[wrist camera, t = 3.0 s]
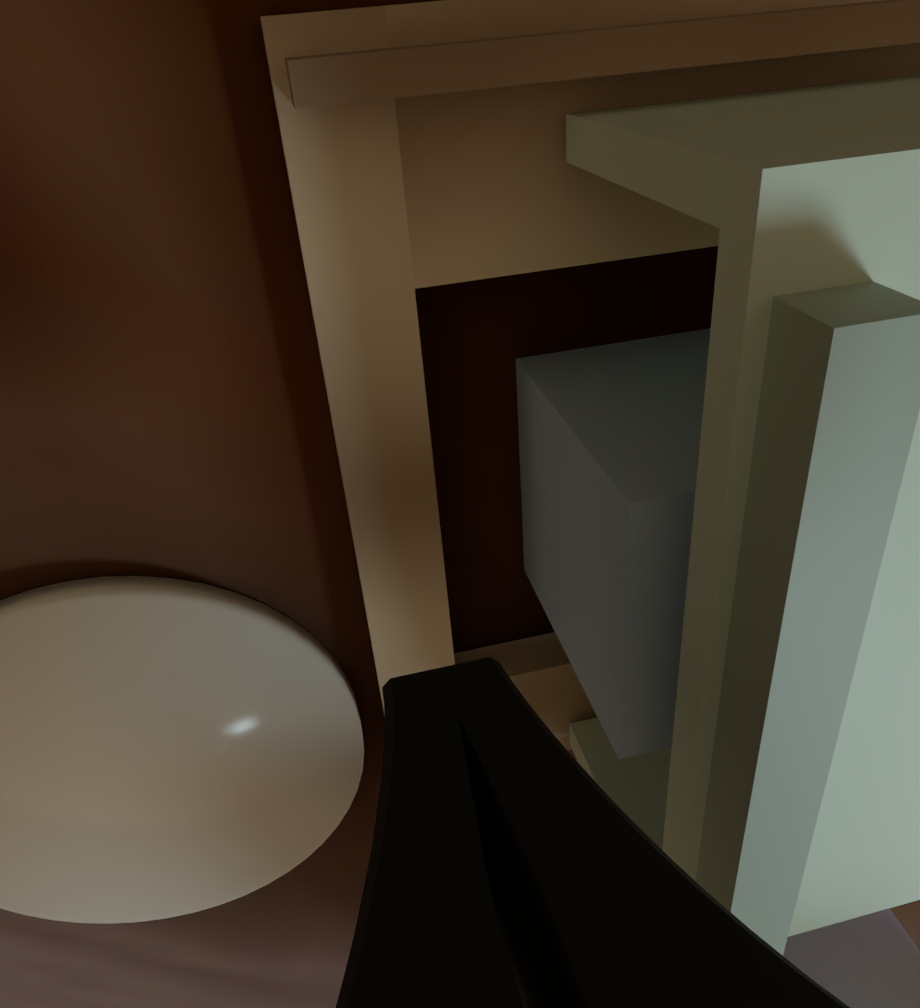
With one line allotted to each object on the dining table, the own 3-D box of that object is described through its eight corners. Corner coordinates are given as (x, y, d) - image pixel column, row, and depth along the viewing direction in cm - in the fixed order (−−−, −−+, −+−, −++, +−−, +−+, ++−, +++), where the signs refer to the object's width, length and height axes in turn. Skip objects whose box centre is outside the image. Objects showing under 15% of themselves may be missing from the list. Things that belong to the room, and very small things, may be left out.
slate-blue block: (729, 527, 17) (888, 695, 13) (523, 568, 16) (618, 759, 12) (755, 320, 14) (961, 440, 10) (514, 357, 14) (629, 503, 10)
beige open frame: (1169, 602, 21) (1238, 645, 20) (396, 782, 18) (409, 850, 17) (1518, -94, 13) (1677, -108, 12) (259, 16, 10) (260, 15, 9)
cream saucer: (385, 842, 19) (388, 864, 19) (-10, 939, 18) (-18, 965, 17) (323, 533, 15) (326, 551, 14) (-221, 634, 13) (-238, 658, 13)
